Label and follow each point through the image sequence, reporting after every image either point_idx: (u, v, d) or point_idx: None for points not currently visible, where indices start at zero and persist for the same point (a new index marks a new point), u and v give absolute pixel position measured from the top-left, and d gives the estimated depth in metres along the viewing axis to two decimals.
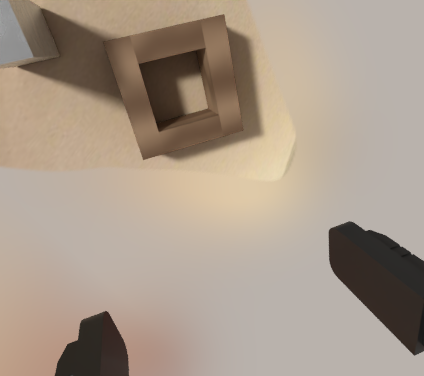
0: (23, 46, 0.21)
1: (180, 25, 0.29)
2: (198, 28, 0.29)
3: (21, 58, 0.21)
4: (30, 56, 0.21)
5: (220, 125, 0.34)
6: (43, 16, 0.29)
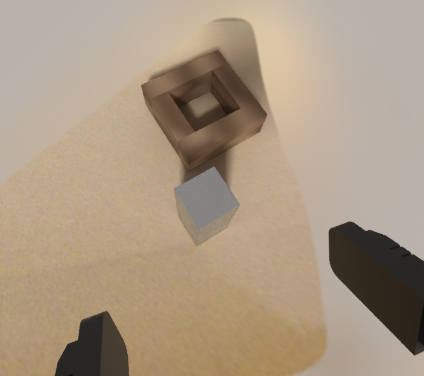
0: (209, 172, 0.28)
1: (158, 110, 0.38)
2: (156, 98, 0.38)
3: (217, 173, 0.28)
4: (214, 168, 0.29)
5: (220, 66, 0.41)
6: None
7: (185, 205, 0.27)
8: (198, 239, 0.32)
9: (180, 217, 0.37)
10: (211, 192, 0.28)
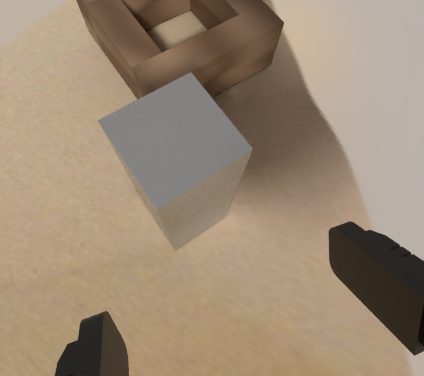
0: (180, 84, 0.13)
1: (99, 21, 0.22)
2: (95, 4, 0.23)
3: (199, 85, 0.13)
4: (191, 75, 0.13)
5: None
6: None
7: (124, 155, 0.11)
8: (172, 237, 0.17)
9: (144, 201, 0.21)
10: (186, 125, 0.12)
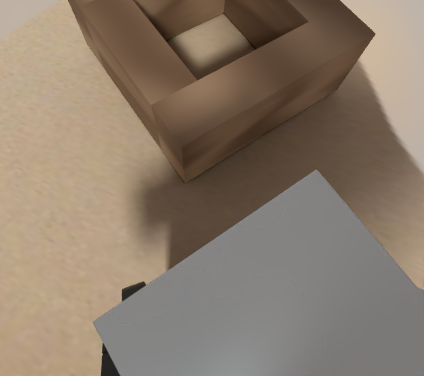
0: (295, 204, 0.05)
1: (100, 31, 0.14)
2: (95, 5, 0.15)
3: (342, 205, 0.05)
4: (320, 178, 0.05)
5: None
6: None
7: None
8: None
9: None
10: (329, 333, 0.05)
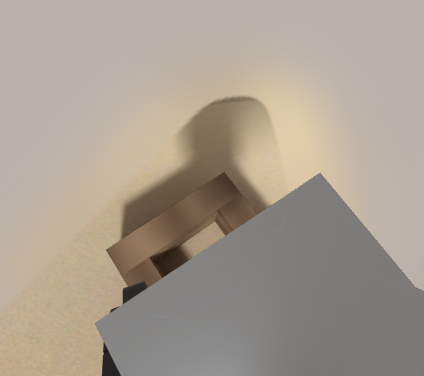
0: (299, 208, 0.05)
1: None
2: (131, 274, 0.23)
3: (345, 209, 0.05)
4: (323, 182, 0.05)
5: (229, 202, 0.26)
6: None
7: None
8: None
9: None
10: (331, 337, 0.05)
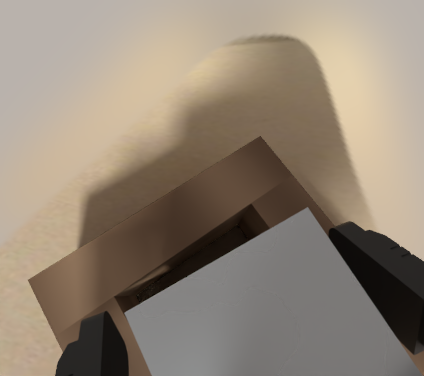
0: (288, 235, 0.07)
1: None
2: (76, 333, 0.11)
3: (325, 239, 0.07)
4: (309, 215, 0.07)
5: (272, 190, 0.14)
6: None
7: None
8: None
9: None
10: (304, 338, 0.06)
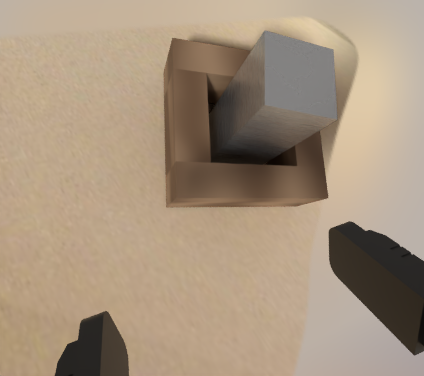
0: (322, 51, 0.17)
1: (175, 94, 0.21)
2: (182, 73, 0.22)
3: (332, 60, 0.17)
4: (332, 51, 0.17)
5: None
6: None
7: (266, 62, 0.16)
8: (226, 145, 0.21)
9: (212, 115, 0.25)
10: (310, 76, 0.17)
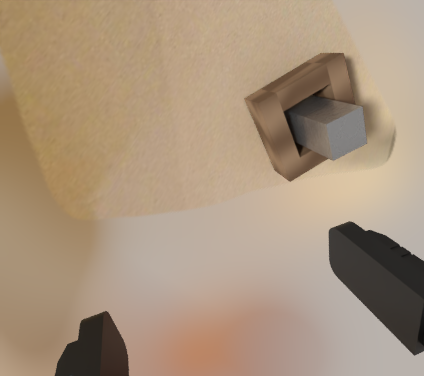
0: (363, 138, 0.33)
1: (311, 72, 0.35)
2: (324, 70, 0.36)
3: (361, 145, 0.34)
4: (365, 143, 0.34)
5: None
6: None
7: (346, 115, 0.31)
8: (295, 115, 0.37)
9: (307, 97, 0.40)
10: (348, 138, 0.33)
